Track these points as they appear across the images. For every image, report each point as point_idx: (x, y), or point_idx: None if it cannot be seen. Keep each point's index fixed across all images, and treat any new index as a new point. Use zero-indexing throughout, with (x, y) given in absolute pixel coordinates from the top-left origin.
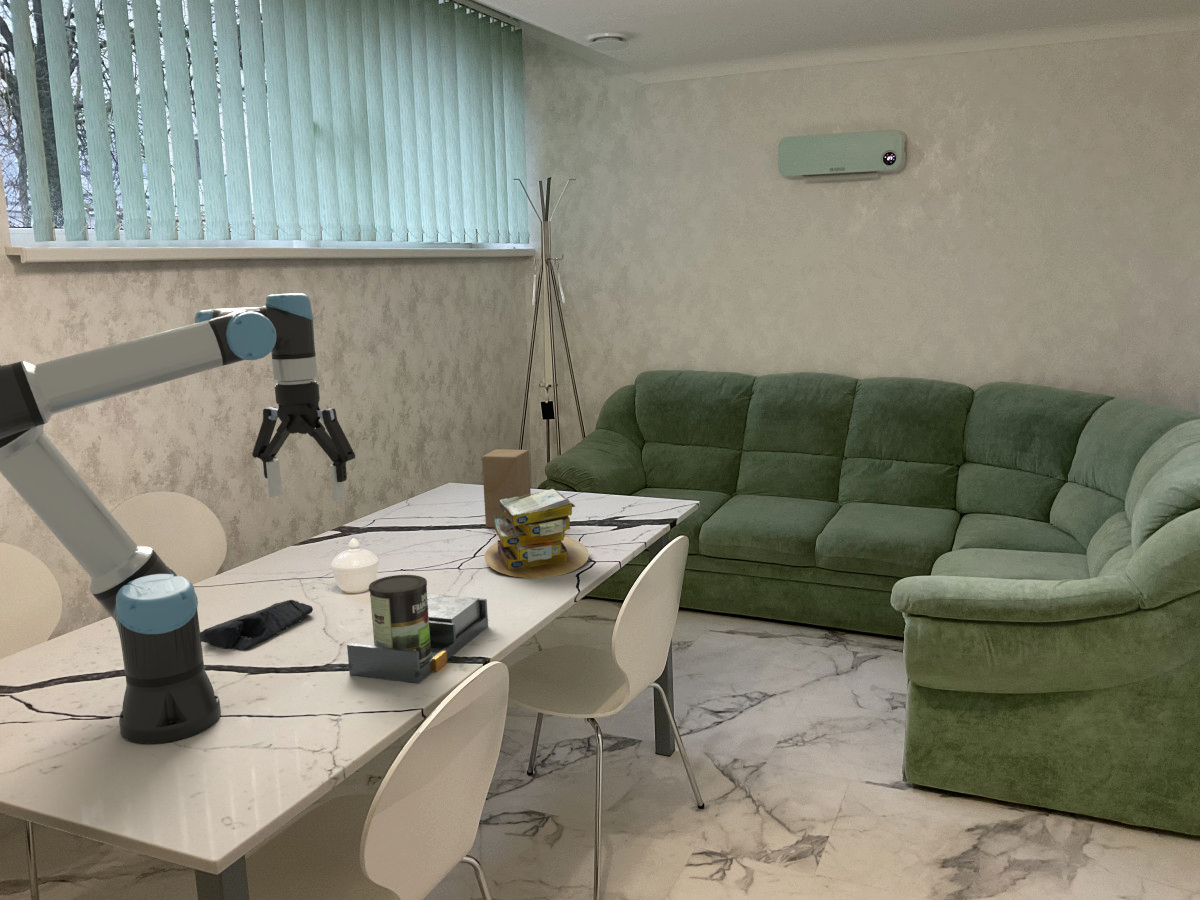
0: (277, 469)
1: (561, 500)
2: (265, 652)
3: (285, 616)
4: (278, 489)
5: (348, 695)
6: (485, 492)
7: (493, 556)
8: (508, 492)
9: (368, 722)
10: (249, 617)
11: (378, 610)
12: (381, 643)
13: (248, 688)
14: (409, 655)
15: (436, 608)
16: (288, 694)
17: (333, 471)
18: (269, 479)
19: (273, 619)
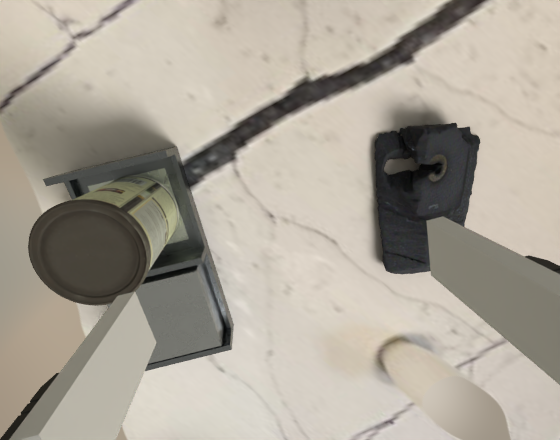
0: (512, 328)
1: None
2: (345, 145)
3: (395, 228)
4: (443, 268)
5: (120, 94)
6: None
7: None
8: None
9: (18, 39)
10: (422, 181)
11: (101, 193)
12: (124, 181)
13: (266, 39)
14: (58, 175)
15: (158, 313)
16: (197, 53)
17: (42, 402)
18: (488, 247)
19: (403, 212)
